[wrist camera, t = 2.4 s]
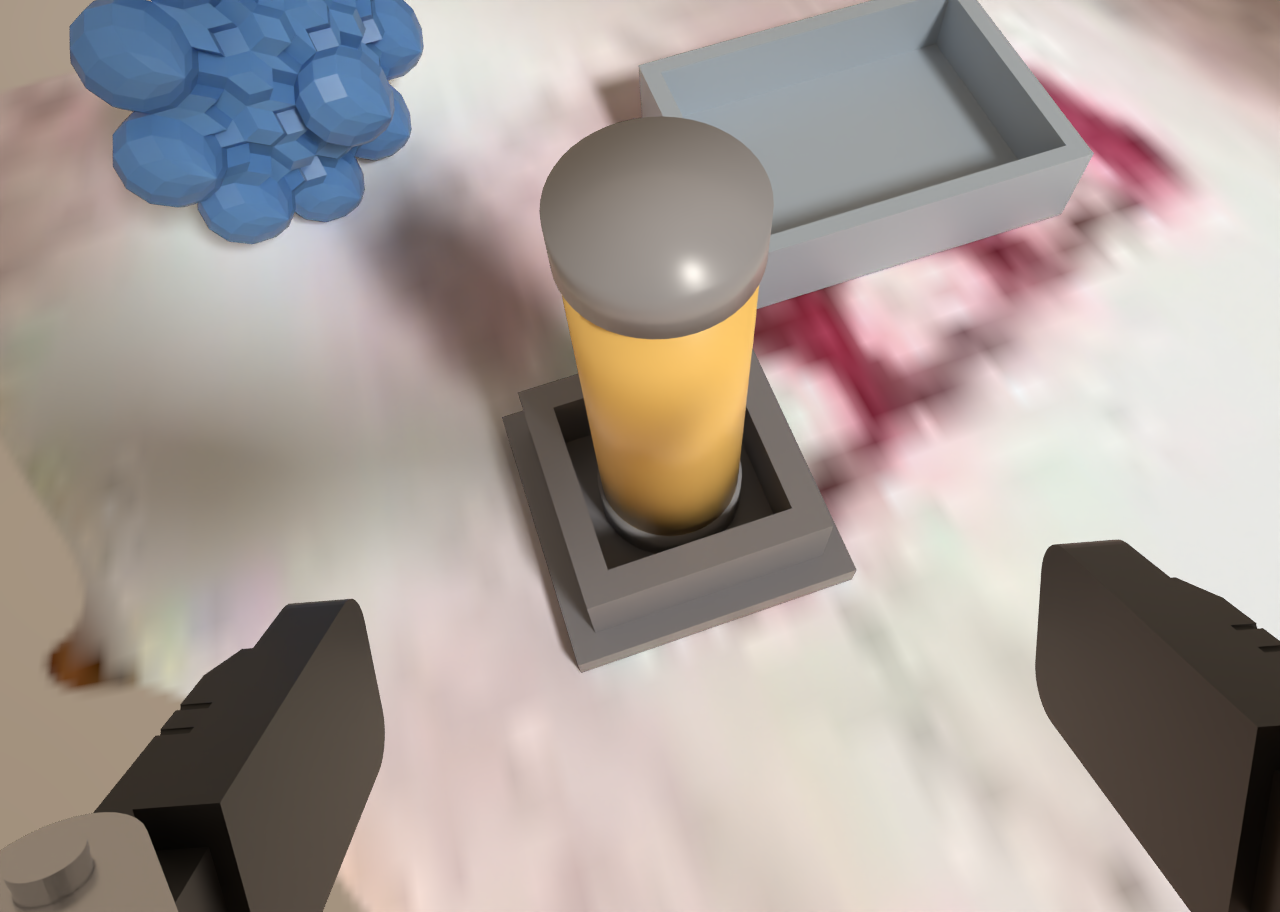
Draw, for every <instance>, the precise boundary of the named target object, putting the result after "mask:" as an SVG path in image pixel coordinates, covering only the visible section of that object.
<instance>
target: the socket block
mask: <svg viewBox="0 0 1280 912" xmlns="http://www.w3.org/2000/svg"><path fill="white" fill-rule="evenodd" d="M518 394H519V398H520V401H521V404H522V407H523V410H524V411H521V412H517V413H514V414H511V415H508V416H505V417H502V419H503V422H504V425H505V428H506V432H507V435H508V438H509V441H510V445H511V448H512V451H513V455H514V458H515V461H516V464H517V468H518V471H519V474H520V477H521V481H522V484H523V487H524V490H525V494H526V497H527V500H528V504H529V507H530V510H531V513H532V517H533V520H534V523H535V526H536V530H537V533H538V536H539V540H540V543H541V546H542V549H543V553H544V556H545V559H546V562H547V566H548V569H549V572H550V576H551V579H552V582H553V585H554V589H555V592H556V595H557V598H558V602H559V605H560V608H561V611H562V615H563V618H564V621H565V625H566V628H567V631H568V634H569V638H570V641H571V644H572V647H573V651H574V654H575V657H576V661H577V664H578V667H579V669H580V671H581V673H582V672H585V671H588V670H591V669H594V668H597V667H600V666H603V665H605V664H608V663H611V662H614V661H617V660H620V659H623V658H626V657H629V656H631V655H634V654H637V653H640V652H643V651H646V650H649V649H652V648H655V647H657V646H660V645H663V644H666V643H669V642H672V641H675V640H678V639H681V638H683V637H686V636H689V635H692V634H695V633H698V632H701V631H704V630H707V629H709V628H712V627H715V626H718V625H721V624H724V623H727V622H730V621H733V620H735V619H738V618H741V617H744V616H747V615H750V614H753V613H756V612H759V611H761V610H764V609H767V608H770V607H773V606H776V605H779V604H782V603H785V602H787V601H790V600H793V599H796V598H799V597H802V596H805V595H808V594H811V593H813V592H816V591H819V590H822V589H825V588H828V587H831V586H834V585H837V584H839V583H842V582H845V581H848V580H851V579H852V578H853V576H854V574H855V572H856V568H855V566H854V564H853V562H852V559H851V557H850V555H849V553H848V551H847V549H846V547H845V544H844V542H843V540H842V538H841V536H840V534H839V532H838V530H837V527H836V525H835V523H834V521H833V519H832V517H831V515H830V512H829V510H828V508H827V506H826V504H825V502H824V500H823V498H822V495H821V493H820V491H819V489H818V487H817V485H816V483H815V480H814V478H813V476H812V474H811V472H810V470H809V468H808V465H807V463H806V461H805V459H804V457H803V455H802V453H801V451H800V448H799V446H798V444H797V442H796V440H795V438H794V436H793V433H792V431H791V429H790V427H789V425H788V423H787V421H786V419H785V416H784V414H783V412H782V410H781V408H780V406H779V404H778V401H777V399H776V397H775V395H774V393H773V391H772V389H771V387H770V384H769V382H768V380H767V378H766V376H765V374H764V372H763V369H762V367H761V365H760V363H759V361H758V359H757V357H756V355H755V352H754V350H753V348H752V355H751V364H750V373H749V383H748V392H747V401H746V410H745V419H744V428H743V437H742V446H741V455H740V461H741V467H742V479H741V489H740V497H739V503H738V507H737V511H736V513H735V516H734V518H733V519H732V521H731V523H730V525H729V526H728V527H727V529H726V530H725V531H723V532H720V533H717V534H714V535H711V536H708V537H705V538H702V539H699V540H696V541H693V542H690V543H687V544H684V545H681V546H678V547H675V548H672V549H669V550H666V551H663V552H660V553H657V554H655V553H651V552H647V551H644V550H642V549H639V548H637V547H635V546H634V545H632V544H630V543H629V542H627V541H626V540H625V539H623V538H622V537H621V536H620V535H619V534H618V533H617V532H616V530H615V529H614V528H613V527H612V525H611V524H610V522H609V520H608V519H607V516H606V514H605V512H604V508H603V504H602V500H601V495H600V491H599V486H598V478H597V476H598V464H597V459H596V454H595V450H594V445H593V440H592V435H591V431H590V426H589V421H588V416H587V412H586V407H585V402H584V397H583V393H582V388H581V383H580V378H579V374H576V375H573V376H570V377H567V378H563V379H560V380H557V381H554V382H551V383H547V384H544V385H541V386H538V387H535V388H531V389H528V390H525V391H522V392H519V393H518Z"/></svg>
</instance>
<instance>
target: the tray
mask: <svg viewBox="0 0 1280 912" xmlns="http://www.w3.org/2000/svg"><path fill="white" fill-rule="evenodd" d="M639 80H640V96H641V112H642V118H644V117H662V116H664V117H678V118H685V119H691V120H695V121H699V122H702V123H706V124H708V125H711V126H714V127H716V128H719V129H721V130H723V131H724V132H726V133H728V134H730V135H732V136H733V137H735V138H736V139H738V140H739V141H741V142H742V143H743V144H744V145H745V146H746V147H747V148H749V149H750V150H751V151H752V153H753V154H754V155H755V156H756V157H757V158H758V159H759V161H760V163H761V164H762V166H763V167H764V169H765V171H766V173H767V175H768V177H769V180H770V183H771V187H772V191H773V200H774V208H773V219H772V227H771V235H770V244H769V252H768V261H767V265H766V269H765V273H764V275H763V277H762V280H761V282H760V284H759V292H758V301H757V309H758V308H762V307H765V306H768V305H771V304H774V303H778V302H781V301H784V300H787V299H790V298H794V297H797V296H800V295H803V294H807V293H810V292H813V291H816V290H819V289H823V288H826V287H829V286H832V285H835V284H839V283H842V282H845V281H848V280H852V279H855V278H858V277H861V276H864V275H868V274H871V273H874V272H877V271H880V270H884V269H887V268H890V267H893V266H897V265H900V264H903V263H906V262H909V261H913V260H916V259H919V258H922V257H925V256H929V255H932V254H935V253H938V252H941V251H945V250H948V249H951V248H954V247H958V246H961V245H964V244H967V243H970V242H974V241H977V240H980V239H983V238H986V237H990V236H993V235H996V234H999V233H1003V232H1006V231H1009V230H1012V229H1015V228H1019V227H1022V226H1025V225H1028V224H1031V223H1035V222H1038V221H1041V220H1044V219H1048V218H1051V217H1054V216H1057V215H1060V214H1061V213H1062V212H1063V210H1064V208H1065V206H1066V204H1067V202H1068V200H1069V199H1070V197H1071V195H1072V193H1073V191H1074V189H1075V187H1076V186H1077V184H1078V182H1079V180H1080V178H1081V176H1082V174H1083V172H1084V171H1085V169H1086V167H1087V165H1088V163H1089V161H1090V159H1091V158H1092V156H1093V154H1094V153H1093V152H1092V151H1091V149H1090V148H1089V147H1088V145H1087V144H1086V143H1085V141H1084V140H1083V139H1082V138H1081V136H1080V135H1079V134H1078V132H1077V131H1076V130H1075V128H1074V127H1073V126H1072V124H1071V123H1070V122H1069V120H1068V119H1067V118H1066V116H1065V115H1064V114H1063V113H1062V111H1061V110H1060V109H1059V107H1058V106H1057V105H1056V103H1055V102H1054V101H1053V99H1052V98H1051V97H1050V95H1049V94H1048V93H1047V92H1046V90H1045V89H1044V88H1043V86H1042V85H1041V84H1040V82H1039V81H1038V80H1037V78H1036V77H1035V76H1034V74H1033V73H1032V72H1031V71H1030V69H1029V68H1028V67H1027V65H1026V64H1025V63H1024V61H1023V60H1022V59H1021V57H1020V56H1019V55H1018V53H1017V52H1016V51H1015V50H1014V48H1013V47H1012V46H1011V44H1010V43H1009V42H1008V40H1007V39H1006V38H1005V36H1004V35H1003V34H1002V32H1001V31H1000V30H999V29H998V27H997V26H996V25H995V23H994V22H993V21H992V19H991V18H990V17H989V15H988V14H987V13H986V11H985V10H984V9H983V8H982V6H981V5H980V4H979V2H978V1H977V0H871V1H868V2H864V3H860V4H857V5H853V6H850V7H846V8H843V9H839V10H835V11H832V12H828V13H825V14H821V15H818V16H814V17H810V18H807V19H803V20H800V21H796V22H793V23H789V24H785V25H782V26H778V27H775V28H771V29H767V30H764V31H760V32H757V33H753V34H750V35H746V36H742V37H739V38H735V39H732V40H728V41H725V42H721V43H717V44H714V45H710V46H707V47H703V48H699V49H696V50H692V51H689V52H685V53H682V54H678V55H674V56H671V57H667V58H664V59H660V60H657V61H653V62H649V63H646V64H642V65H639Z"/></svg>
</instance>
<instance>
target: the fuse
mask: <svg viewBox="0 0 1280 912" xmlns="http://www.w3.org/2000/svg"><path fill="white" fill-rule="evenodd" d="M773 208H774V200H773V191H772V187H771V183H770V180H769V177H768V175H767V173H766V171H765V169H764V167H763V166H762V164H761V163H760V161H759V159H758V158H757V157H756V156H755V155H754V154H753V153H752V151H751V150H750V149H749V148H747V147H746V146H745V145H744V144H743V143H742V142H741V141H739V140H738V139H736V138H735V137H733V136H732V135H730V134H728V133H726V132H724V131H723V130H721V129H719V128H716V127H714V126H711V125H708V124H706V123H702V122H699V121H695V120H691V119H685V118H678V117H664V116H662V117H644V118H637V119H631V120H627V121H623V122H619V123H616V124H613V125H610V126H607V127H605V128H603V129H600V130H598V131H596V132H594V133H592V134H590V135H589V136H587V137H585V138H584V139H582V140H581V141H579V142H578V143H577V144H575V145H574V146H573V147H571V148H570V149H569V150H568V151H567V152H566V153H565V154H564V155H563V156H562V157H561V158H560V160H559V161H558V162H557V163H556V165H555V166H554V167H553V169H552V171H551V172H550V174H549V176H548V178H547V180H546V183H545V185H544V187H543V191H542V195H541V200H540V220H541V227H542V231H543V236H544V240H545V245H546V249H547V254H548V258H549V263H550V268H551V271H552V275H553V279H554V281H555V283H556V285H557V287H558V290H559V291H560V293H561V294H562V298H563V303H564V307H565V312H566V317H567V321H568V326H569V331H570V336H571V340H572V345H573V350H574V355H575V359H576V364H577V369H578V374H579V378H580V383H581V388H582V393H583V397H584V402H585V407H586V412H587V416H588V421H589V426H590V431H591V435H592V440H593V445H594V450H595V454H596V459H597V464H598V476H597V478H598V486H599V491H600V495H601V500H602V504H603V508H604V512H605V514H606V516H607V519H608V520H609V522H610V524H611V525H612V527H613V528H614V529H615V530H616V532H617V533H618V534H619V535H620V536H621V537H622V538H623V539H625V540H626V541H627V542H629V543H630V544H632V545H634V546H635V547H637V548H639V549H642V550H644V551H647V552H651V553H655V554H657V553H660V552H663V551H666V550H669V549H672V548H675V547H678V546H681V545H684V544H687V543H690V542H693V541H696V540H699V539H702V538H705V537H708V536H711V535H714V534H717V533H720V532H723V531H725V530H726V529H727V527H728V526H729V525H730V523H731V521H732V519H733V518H734V516H735V513H736V511H737V507H738V503H739V497H740V489H741V479H742V467H741V461H740V455H741V446H742V437H743V428H744V419H745V410H746V401H747V392H748V383H749V373H750V364H751V355H752V346H753V337H754V328H755V319H756V310H757V301H758V292H759V284H760V282H761V280H762V277H763V275H764V273H765V269H766V265H767V261H768V252H769V244H770V235H771V227H772V219H773Z"/></svg>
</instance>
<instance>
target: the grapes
mask: <svg viewBox="0 0 1280 912" xmlns="http://www.w3.org/2000/svg"><path fill="white" fill-rule="evenodd" d="M151 1H152V2H151ZM151 1H147V0H95V1H93V2H92V3H91V4H90V5H89V6H88V7H87V8H86V9H85V10H84V11H83V12H82V13H81V14H80V15H79V16H78V17H77V18H76V20H75V21H74V22H73V23H72V24H71V25H70V59H71V64H72V66H73V67H74V69H75V71H76V72H77V74H78V76H79V77H80V79H81V81H82V83H83V84H84V86H85V88H86V89H88V90H89V91H91V92H92V93H94V94H95V95H97V96H98V97H100V98H101V99H102V100H104V101H105V102H107V103H108V104H110V105H111V106H113V107H116V108H119V109H124V110H129V111H134V112H133V113H132V114H131V115H130V116H129V117H128V118H127V119H126V120H125V121H124V122H123V123H122V124H121V125H120V126H119V127H118V129H117V130H116V131H115V133H114V134H113V167H114V169H115V171H116V172H117V174H118V176H119V177H120V179H121V181H122V182H123V184H124V186H125V187H126V189H128V190H129V191H131V192H133V193H134V194H136V195H137V196H139V197H141V198H142V199H144V200H145V201H147V202H148V203H150V204H157V205H164V206H172V207H186V206H189V205H192V204H196V203H198V210H199V212H200V214H201V216H202V217H203V219H204V221H205V223H206V224H207V226H208V228H209V229H210V230H212V231H213V232H215V233H217V234H218V235H220V236H221V237H223V238H224V239H226V240H228V241H229V242H238V243H247V244H255V243H258V242H261V241H265V240H268V239H271V238H274V237H277V236H278V235H279V234H280V233H282V232H283V231H284V230H285V229H286V228H288V227H289V224H290V222H291V220H292V217H293V215H294V212H296V213H297V214H299V215H300V216H302V217H303V218H304V219H308V220H315V221H323V222H328V221H331V220H334V219H337V218H341V217H344V216H346V215H348V214H349V213H350V212H351V211H353V210H354V209H355V208H356V207H358V205H359V203H360V202H361V200H362V198H363V194H364V190H365V186H364V175H363V172H362V170H361V168H360V166H359V164H358V162H357V160H356V158H355V157H358V158H364V159H370V160H379V159H382V158H385V157H389V156H392V155H394V154H395V153H396V152H397V151H398V150H400V149H401V148H402V147H403V146H405V144H406V142H407V141H408V139H409V137H410V133H411V120H410V112H409V110H408V108H407V106H406V104H405V102H404V99H403V97H402V95H401V94H400V93H399V92H398V91H397V90H395V89H394V88H393V87H392V86H391V85H390V84H389V82H388V80H391V79H394V78H398V77H401V76H404V75H405V74H406V73H408V72H409V71H410V70H411V69H412V68H413V67H415V66H416V65H417V63H418V61H419V59H420V57H421V55H422V52H423V37H422V28H421V26H420V24H419V22H418V20H417V17H416V15H415V13H414V11H413V9H412V8H411V7H410V6H409V5H408V4H407V3H406V2H405V1H404V0H151Z"/></svg>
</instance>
